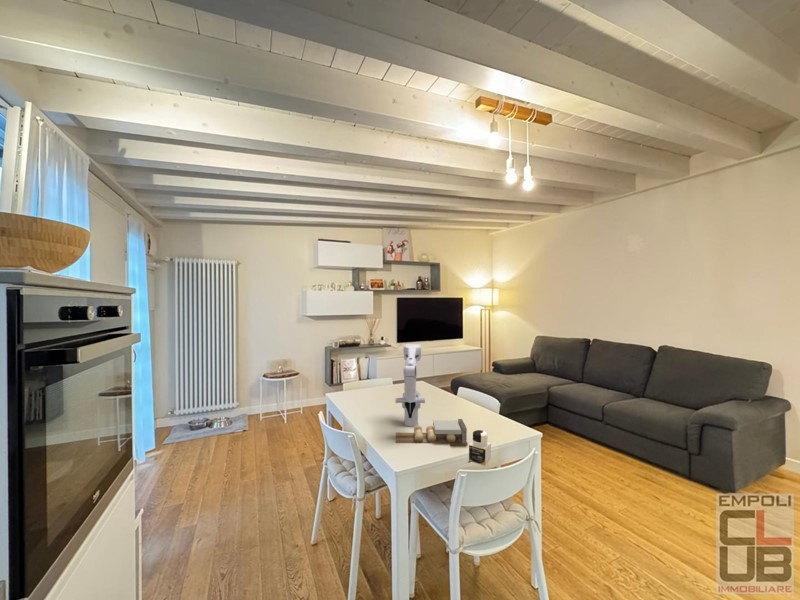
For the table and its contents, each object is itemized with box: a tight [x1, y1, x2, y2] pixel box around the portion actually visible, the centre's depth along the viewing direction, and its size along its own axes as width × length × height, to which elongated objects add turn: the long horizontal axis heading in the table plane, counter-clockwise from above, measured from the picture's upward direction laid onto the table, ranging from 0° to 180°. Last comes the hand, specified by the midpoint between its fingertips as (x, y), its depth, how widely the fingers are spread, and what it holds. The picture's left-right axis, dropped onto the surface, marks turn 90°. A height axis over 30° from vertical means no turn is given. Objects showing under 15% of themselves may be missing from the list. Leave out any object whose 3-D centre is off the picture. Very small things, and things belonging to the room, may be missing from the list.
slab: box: [432, 419, 461, 434], centre depth 162 cm, size 12×12×2 cm
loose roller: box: [445, 434, 455, 443], centre depth 162 cm, size 10×4×4 cm, turn 0°
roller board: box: [395, 418, 469, 447], centre depth 162 cm, size 12×34×8 cm, turn 90°
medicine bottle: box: [468, 429, 492, 466], centre depth 142 cm, size 7×7×12 cm
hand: (410, 417), depth 166 cm, fingers closed
